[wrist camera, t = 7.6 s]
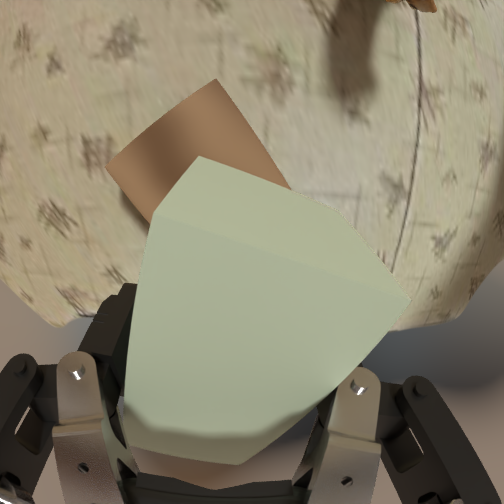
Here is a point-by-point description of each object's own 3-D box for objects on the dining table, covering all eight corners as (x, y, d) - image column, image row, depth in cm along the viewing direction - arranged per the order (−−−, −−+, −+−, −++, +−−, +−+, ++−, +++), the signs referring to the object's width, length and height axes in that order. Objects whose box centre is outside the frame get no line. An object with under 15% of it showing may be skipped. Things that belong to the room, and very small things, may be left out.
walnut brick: (220, 85, 17) (216, 78, 13) (324, 248, 24) (338, 273, 20) (126, 156, 19) (104, 167, 15) (239, 296, 26) (240, 325, 22)
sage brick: (338, 210, 9) (411, 300, 5) (237, 379, 14) (239, 465, 9) (198, 155, 8) (152, 212, 4) (144, 356, 12) (123, 442, 8)
